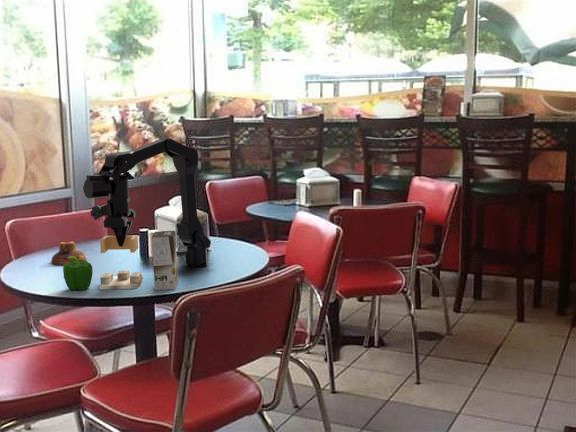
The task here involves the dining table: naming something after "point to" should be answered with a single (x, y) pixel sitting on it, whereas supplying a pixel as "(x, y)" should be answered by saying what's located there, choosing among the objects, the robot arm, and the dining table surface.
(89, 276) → the bell pepper
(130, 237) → the orange bridge block
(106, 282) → the cream flat studded block
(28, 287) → the dining table surface
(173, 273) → the coffee box
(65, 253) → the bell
